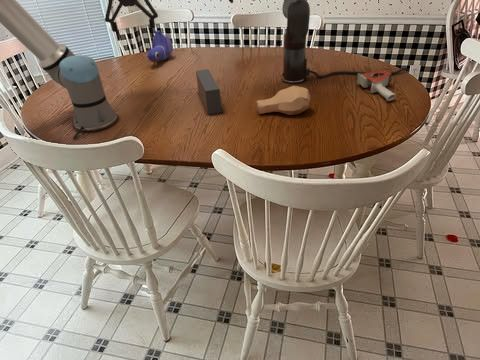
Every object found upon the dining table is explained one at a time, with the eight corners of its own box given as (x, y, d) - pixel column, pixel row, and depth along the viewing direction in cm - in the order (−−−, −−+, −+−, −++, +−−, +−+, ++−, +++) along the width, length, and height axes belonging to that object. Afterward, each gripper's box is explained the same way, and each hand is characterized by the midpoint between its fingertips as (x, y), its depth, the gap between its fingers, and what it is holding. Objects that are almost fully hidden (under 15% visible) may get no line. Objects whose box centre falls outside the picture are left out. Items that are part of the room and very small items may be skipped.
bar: (221, 112, 135) (219, 88, 129) (208, 114, 134) (205, 91, 128) (210, 90, 153) (208, 68, 147) (198, 92, 152) (195, 70, 146)
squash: (314, 116, 128) (313, 95, 122) (259, 125, 130) (256, 105, 124) (308, 99, 136) (307, 78, 129) (257, 108, 138) (253, 88, 131)
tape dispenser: (391, 107, 134) (404, 85, 146) (394, 94, 130) (407, 73, 143) (345, 96, 141) (361, 77, 154) (348, 84, 138) (364, 65, 150)
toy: (161, 62, 200) (141, 68, 178) (157, 30, 193) (135, 32, 171) (177, 61, 198) (159, 67, 176) (173, 29, 191) (154, 30, 169)
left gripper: (157, -26, 136) (167, 33, 148) (90, -21, 133) (105, 39, 145) (157, -23, 129) (167, 37, 142) (86, -18, 127) (103, 43, 139)
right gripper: (256, -52, 128) (257, -2, 138) (218, -49, 126) (222, 1, 135) (263, -51, 122) (263, 1, 132) (222, -48, 120) (226, 5, 129)
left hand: (136, 38), depth 144 cm, fingers open, 13 cm apart
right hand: (242, 1), depth 133 cm, fingers open, 8 cm apart
